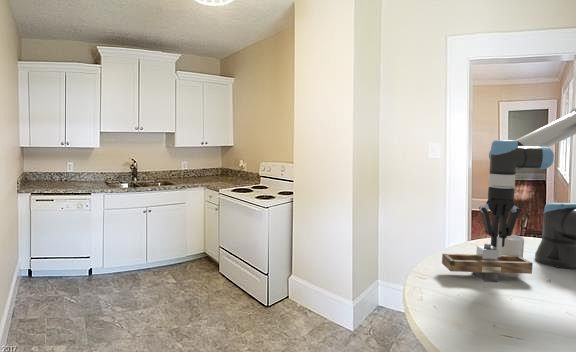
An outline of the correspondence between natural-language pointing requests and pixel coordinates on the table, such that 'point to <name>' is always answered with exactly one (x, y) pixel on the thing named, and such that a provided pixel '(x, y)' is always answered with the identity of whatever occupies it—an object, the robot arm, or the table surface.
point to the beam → (486, 265)
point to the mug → (513, 246)
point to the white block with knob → (486, 253)
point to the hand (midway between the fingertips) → (496, 255)
